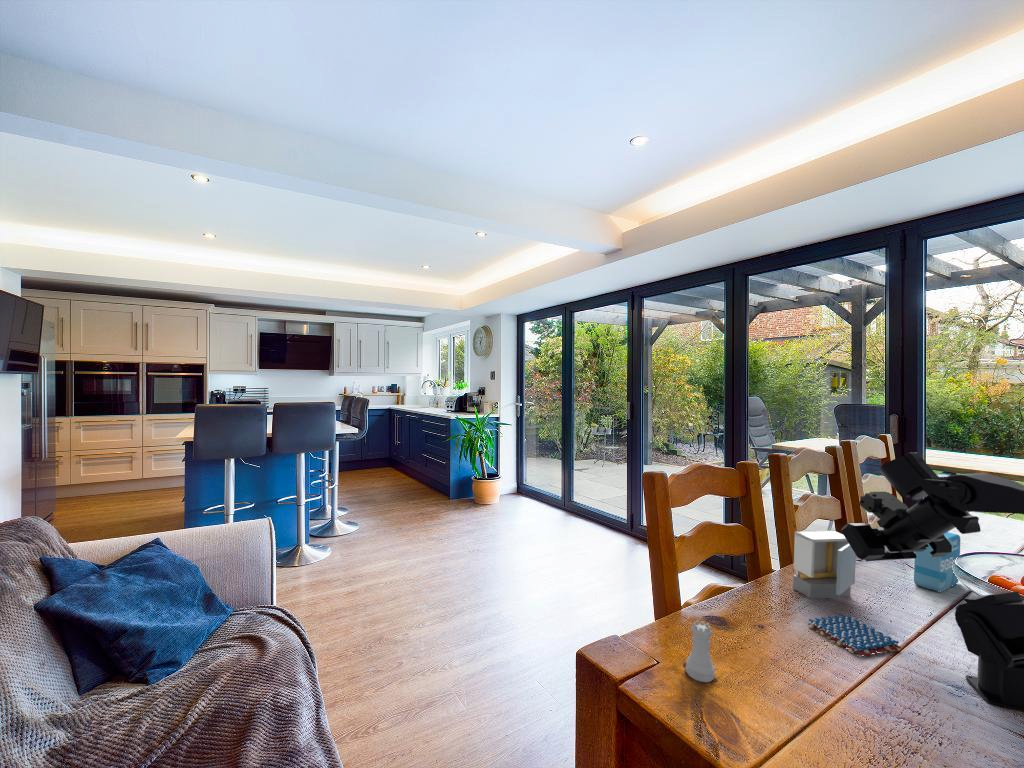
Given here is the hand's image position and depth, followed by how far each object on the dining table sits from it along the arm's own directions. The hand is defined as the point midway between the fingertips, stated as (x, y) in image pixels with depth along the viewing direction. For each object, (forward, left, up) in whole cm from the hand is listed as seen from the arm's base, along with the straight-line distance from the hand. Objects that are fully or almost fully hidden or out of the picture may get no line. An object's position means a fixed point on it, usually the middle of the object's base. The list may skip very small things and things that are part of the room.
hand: (866, 558), depth 92 cm
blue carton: (+27, -22, -12) cm, 37 cm away
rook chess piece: (-32, +31, -12) cm, 46 cm away
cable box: (+10, +5, -12) cm, 17 cm away
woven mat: (-9, +4, -13) cm, 16 cm away
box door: (+6, +2, -9) cm, 11 cm away
